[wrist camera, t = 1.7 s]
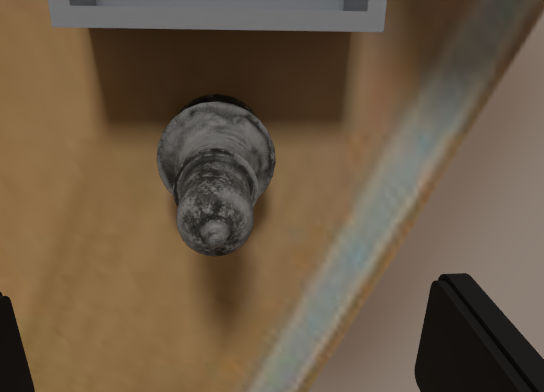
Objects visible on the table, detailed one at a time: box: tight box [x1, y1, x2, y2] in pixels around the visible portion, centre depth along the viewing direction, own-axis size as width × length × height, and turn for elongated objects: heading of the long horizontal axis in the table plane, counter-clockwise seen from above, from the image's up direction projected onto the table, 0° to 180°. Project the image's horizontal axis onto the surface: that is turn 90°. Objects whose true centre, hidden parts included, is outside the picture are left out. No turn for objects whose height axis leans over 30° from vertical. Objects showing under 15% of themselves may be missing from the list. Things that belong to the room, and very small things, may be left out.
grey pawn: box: [157, 95, 275, 256], centre depth 20 cm, size 6×6×12 cm
